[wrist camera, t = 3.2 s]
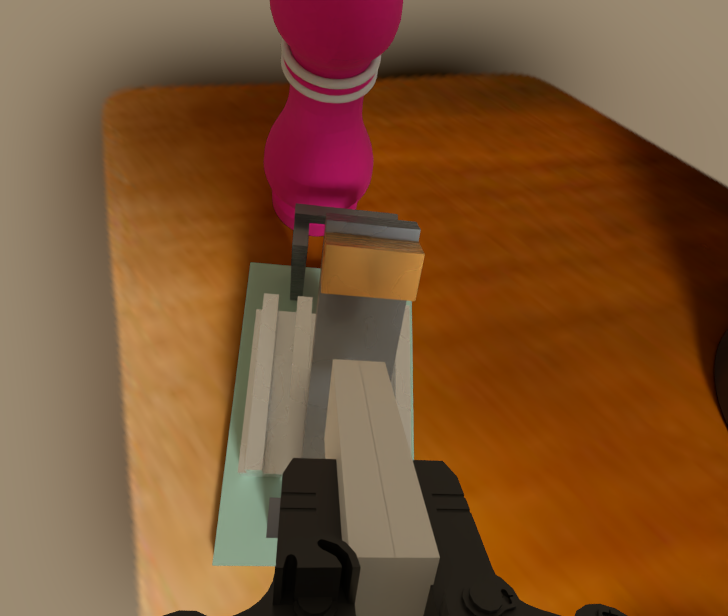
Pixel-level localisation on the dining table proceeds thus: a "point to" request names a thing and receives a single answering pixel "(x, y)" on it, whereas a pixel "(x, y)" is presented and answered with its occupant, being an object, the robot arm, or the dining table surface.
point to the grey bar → (358, 304)
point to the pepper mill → (325, 101)
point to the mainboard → (242, 493)
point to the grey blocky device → (296, 369)
